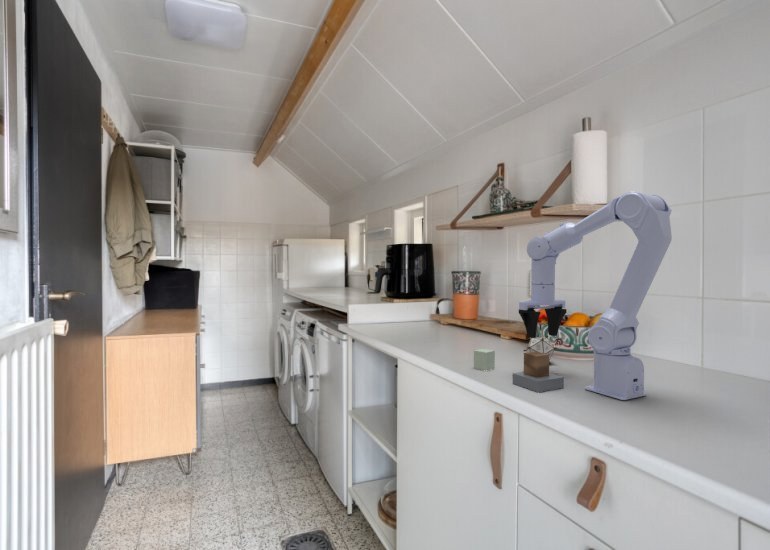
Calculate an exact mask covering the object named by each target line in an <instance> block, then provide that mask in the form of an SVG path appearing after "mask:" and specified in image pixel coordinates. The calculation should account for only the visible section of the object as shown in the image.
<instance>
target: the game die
mask: <svg viewBox="0 0 770 550" xmlns="http://www.w3.org/2000/svg"><path fill="white" fill-rule="evenodd" d="M548 338H549V334H547V335H546V336H544V337H541V336H539V337H538V336H536V338H530V339H529V341H528V345H527V346H526V349H523V352H524V353H527V352H535V351H536V352H541V353H545V354H549V365H551V363H552V362H551V358H552V357H553V354H554V351H555V350H558V347H555V346H554V345H553V344H552V343H551V341H550V340H549V339H548Z"/></svg>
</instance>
